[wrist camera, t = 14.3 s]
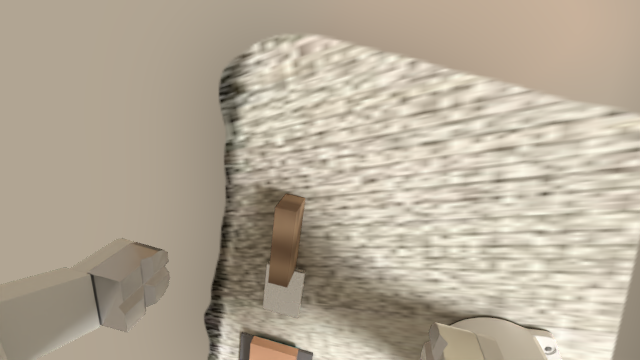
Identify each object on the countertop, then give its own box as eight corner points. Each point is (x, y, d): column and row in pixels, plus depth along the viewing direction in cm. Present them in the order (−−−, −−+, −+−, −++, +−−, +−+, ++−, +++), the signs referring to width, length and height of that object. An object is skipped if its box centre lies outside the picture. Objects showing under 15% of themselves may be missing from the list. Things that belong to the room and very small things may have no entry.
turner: (275, 191, 41) (263, 204, 37) (316, 200, 40) (309, 215, 36) (264, 305, 49) (253, 326, 45) (299, 314, 48) (291, 337, 44)
